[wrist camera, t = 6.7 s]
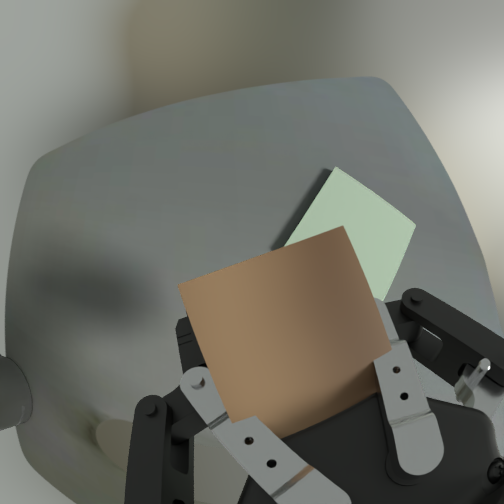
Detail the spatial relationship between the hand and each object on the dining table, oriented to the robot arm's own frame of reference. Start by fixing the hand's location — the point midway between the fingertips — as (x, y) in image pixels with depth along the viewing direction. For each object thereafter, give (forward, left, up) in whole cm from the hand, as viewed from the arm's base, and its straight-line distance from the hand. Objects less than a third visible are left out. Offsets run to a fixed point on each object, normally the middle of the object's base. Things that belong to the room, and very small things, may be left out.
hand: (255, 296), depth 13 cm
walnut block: (+1, -1, -4) cm, 5 cm away
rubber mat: (+6, +13, -15) cm, 20 cm away
